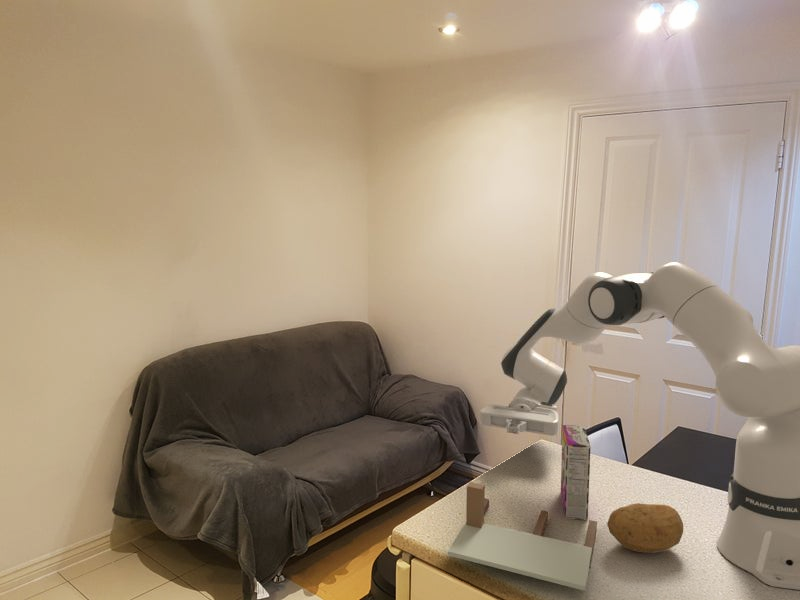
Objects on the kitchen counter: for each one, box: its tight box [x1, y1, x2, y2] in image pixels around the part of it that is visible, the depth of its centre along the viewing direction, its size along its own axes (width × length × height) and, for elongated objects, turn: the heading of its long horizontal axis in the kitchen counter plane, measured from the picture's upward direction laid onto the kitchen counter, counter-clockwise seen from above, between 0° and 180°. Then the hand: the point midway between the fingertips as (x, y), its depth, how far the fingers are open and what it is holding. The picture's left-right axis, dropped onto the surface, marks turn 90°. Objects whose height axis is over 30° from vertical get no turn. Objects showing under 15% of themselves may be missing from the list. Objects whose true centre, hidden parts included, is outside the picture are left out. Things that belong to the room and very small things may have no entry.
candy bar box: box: [560, 424, 591, 521], centre depth 118 cm, size 11×5×16 cm, turn 168°
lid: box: [447, 481, 592, 592], centre depth 98 cm, size 24×12×9 cm, turn 66°
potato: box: [606, 502, 684, 553], centre depth 103 cm, size 10×14×8 cm
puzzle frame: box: [484, 497, 598, 569], centre depth 108 cm, size 24×13×2 cm, turn 66°
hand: (512, 430), depth 135 cm, fingers closed
